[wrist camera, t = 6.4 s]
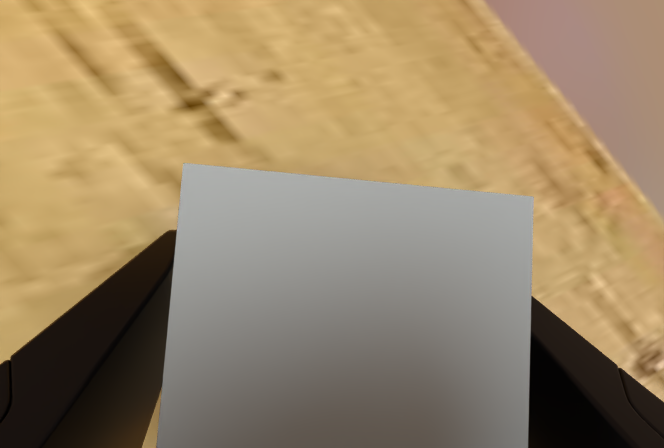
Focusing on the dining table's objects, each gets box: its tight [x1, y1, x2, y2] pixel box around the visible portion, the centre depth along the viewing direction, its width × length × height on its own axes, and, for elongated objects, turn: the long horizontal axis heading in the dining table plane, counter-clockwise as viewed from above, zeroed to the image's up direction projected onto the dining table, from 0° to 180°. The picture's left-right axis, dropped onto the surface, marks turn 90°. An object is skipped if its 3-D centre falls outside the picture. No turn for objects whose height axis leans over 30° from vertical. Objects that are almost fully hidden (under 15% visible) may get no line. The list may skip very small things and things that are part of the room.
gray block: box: [156, 163, 534, 448], centre depth 11 cm, size 5×5×12 cm
